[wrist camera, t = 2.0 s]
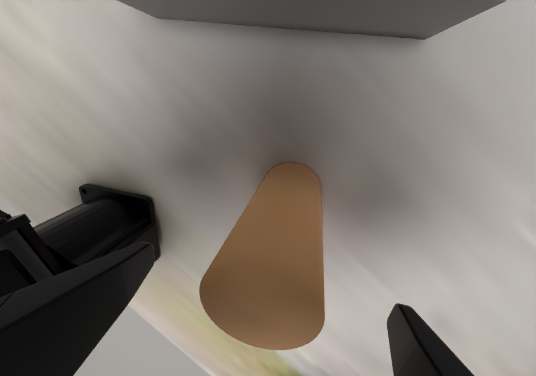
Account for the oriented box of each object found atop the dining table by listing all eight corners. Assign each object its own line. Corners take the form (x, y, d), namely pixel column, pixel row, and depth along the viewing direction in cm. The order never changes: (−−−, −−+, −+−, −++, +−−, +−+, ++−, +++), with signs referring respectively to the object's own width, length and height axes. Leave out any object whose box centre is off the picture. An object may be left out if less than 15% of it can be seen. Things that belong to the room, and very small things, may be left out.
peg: (260, 209, 16) (201, 330, 8) (265, 157, 14) (197, 244, 6) (315, 221, 15) (310, 363, 7) (327, 167, 14) (339, 277, 6)
